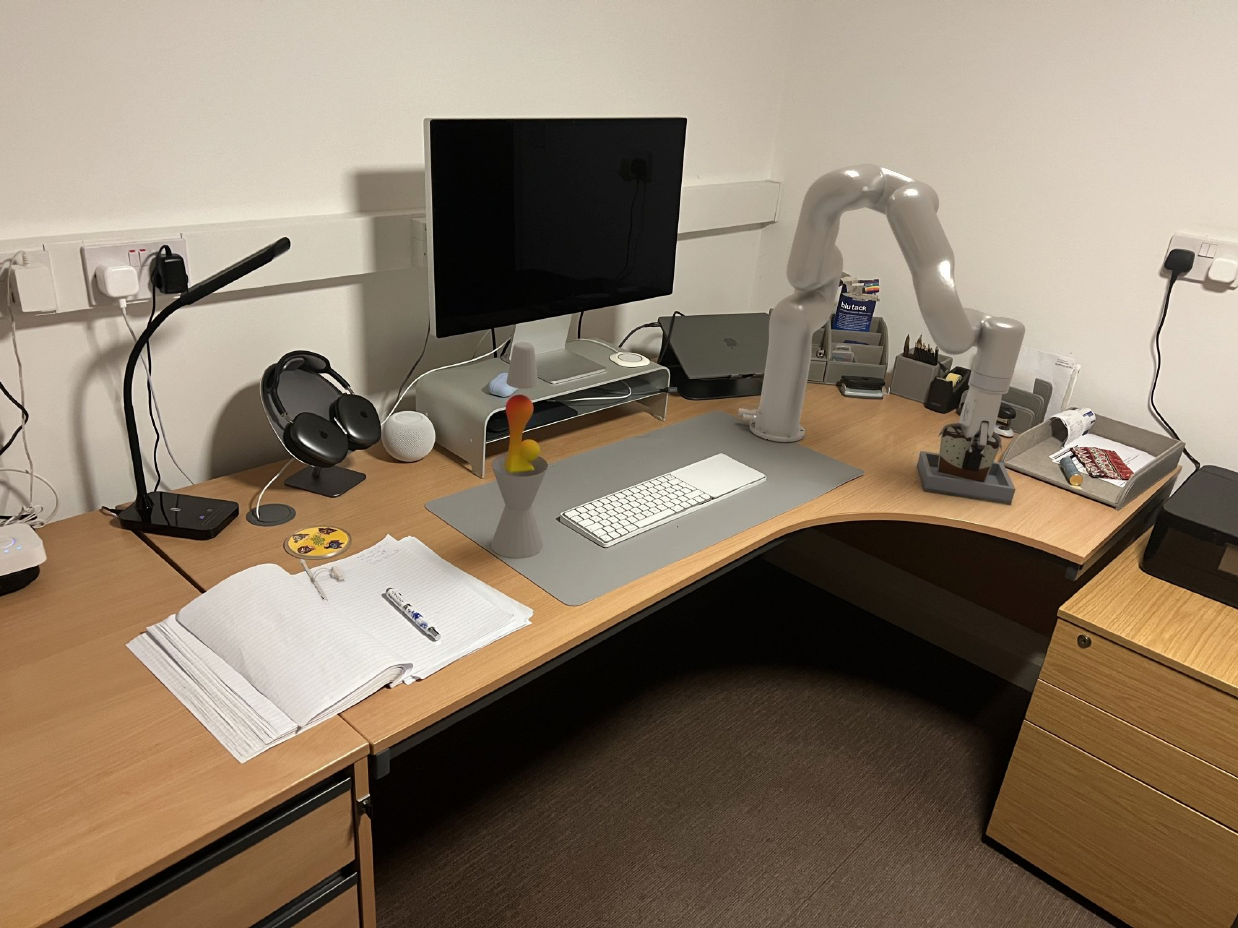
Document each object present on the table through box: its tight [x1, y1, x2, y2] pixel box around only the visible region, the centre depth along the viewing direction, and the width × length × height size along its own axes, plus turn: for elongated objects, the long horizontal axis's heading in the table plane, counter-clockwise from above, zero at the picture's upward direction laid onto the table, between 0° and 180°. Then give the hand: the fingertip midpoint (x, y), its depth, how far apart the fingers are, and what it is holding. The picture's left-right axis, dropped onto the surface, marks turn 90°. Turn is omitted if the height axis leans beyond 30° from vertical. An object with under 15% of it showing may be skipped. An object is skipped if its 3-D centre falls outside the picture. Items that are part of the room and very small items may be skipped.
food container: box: [937, 422, 1003, 483], centre depth 181 cm, size 12×6×10 cm, turn 64°
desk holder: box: [916, 450, 1016, 505], centre depth 182 cm, size 17×13×4 cm
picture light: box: [299, 558, 345, 602], centre depth 134 cm, size 14×4×2 cm, turn 34°
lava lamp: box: [490, 341, 549, 559], centre depth 140 cm, size 9×9×35 cm
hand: (967, 462), depth 181 cm, fingers closed on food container, 5 cm apart
